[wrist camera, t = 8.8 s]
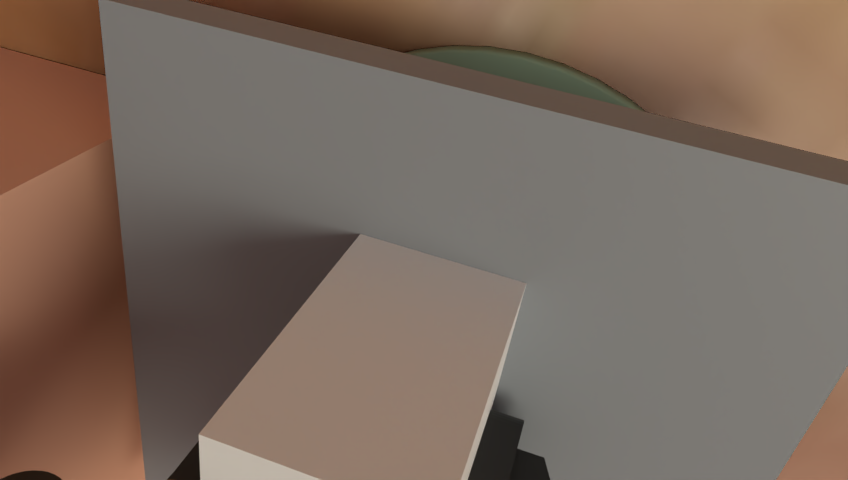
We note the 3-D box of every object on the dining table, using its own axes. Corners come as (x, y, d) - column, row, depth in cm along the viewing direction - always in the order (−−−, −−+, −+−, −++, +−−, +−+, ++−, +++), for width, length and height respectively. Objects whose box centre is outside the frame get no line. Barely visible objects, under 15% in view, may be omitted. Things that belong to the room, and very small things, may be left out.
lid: (903, 154, 11) (1176, 510, 5) (642, 616, 18) (628, 994, 12) (170, -22, 13) (-228, 82, 7) (191, 446, 20) (-7, 692, 14)
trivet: (834, 124, 13) (841, 135, 13) (640, 520, 19) (639, 538, 19) (263, -9, 15) (249, -4, 15) (255, 386, 22) (245, 398, 21)
